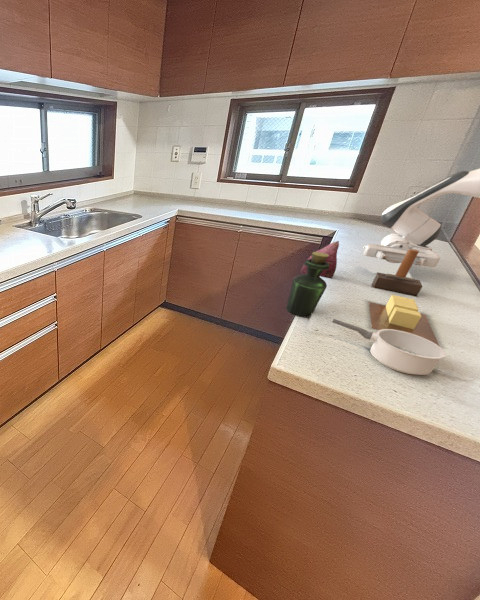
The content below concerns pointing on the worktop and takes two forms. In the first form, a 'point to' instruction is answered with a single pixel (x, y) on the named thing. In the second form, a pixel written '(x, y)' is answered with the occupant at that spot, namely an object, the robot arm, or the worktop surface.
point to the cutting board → (382, 322)
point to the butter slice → (404, 317)
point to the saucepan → (398, 358)
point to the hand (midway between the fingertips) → (401, 260)
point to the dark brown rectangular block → (396, 285)
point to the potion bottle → (308, 287)
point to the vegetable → (331, 260)
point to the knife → (405, 266)
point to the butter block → (400, 304)
